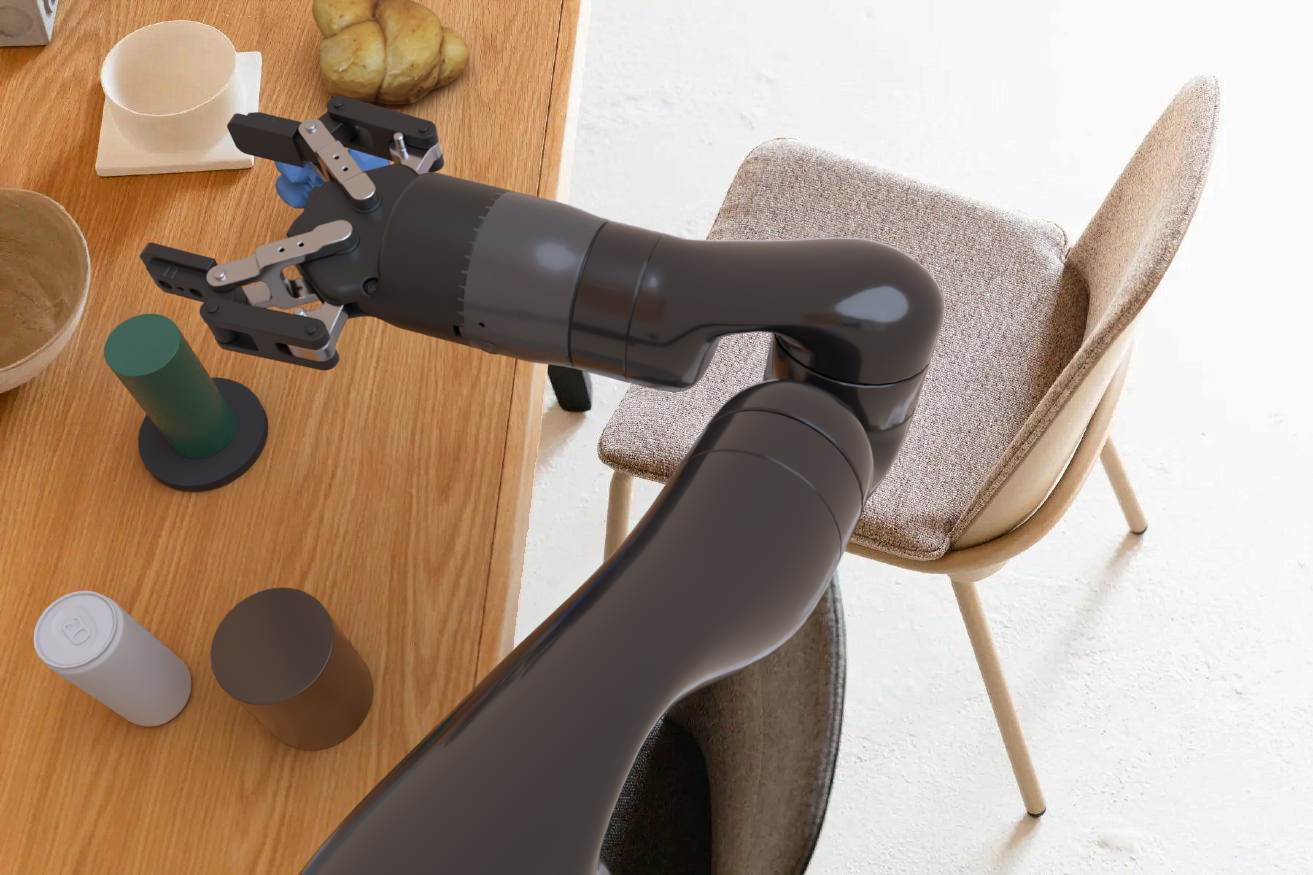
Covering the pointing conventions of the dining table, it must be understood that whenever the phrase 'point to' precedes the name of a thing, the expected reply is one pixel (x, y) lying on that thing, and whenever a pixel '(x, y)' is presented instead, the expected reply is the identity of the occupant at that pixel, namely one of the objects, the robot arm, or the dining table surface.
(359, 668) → the stand
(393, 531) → the dining table surface
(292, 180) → the grapes
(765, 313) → the robot arm
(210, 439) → the tea tin
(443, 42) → the bread roll
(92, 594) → the beverage can
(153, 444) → the mat
